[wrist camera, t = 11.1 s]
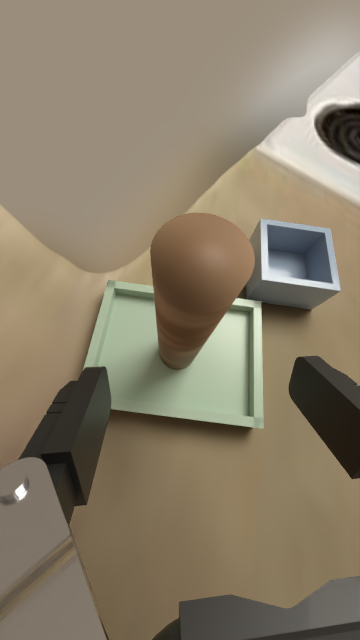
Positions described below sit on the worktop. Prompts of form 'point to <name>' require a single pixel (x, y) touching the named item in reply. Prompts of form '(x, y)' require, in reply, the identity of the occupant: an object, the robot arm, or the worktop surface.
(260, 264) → the pale blue open box
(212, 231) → the dowel
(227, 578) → the worktop surface
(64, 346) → the worktop surface
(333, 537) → the worktop surface
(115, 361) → the tray
